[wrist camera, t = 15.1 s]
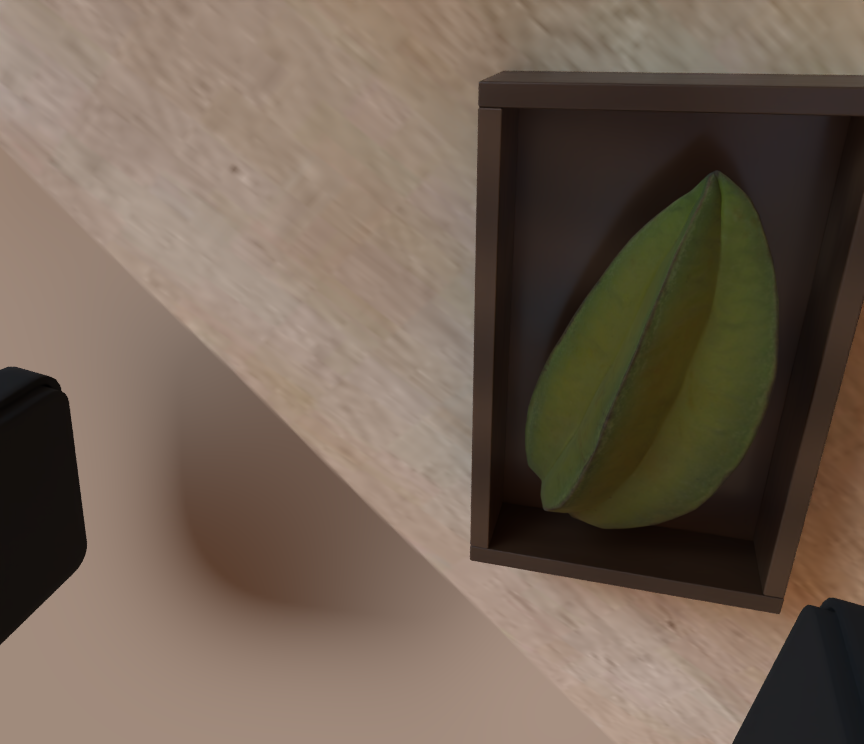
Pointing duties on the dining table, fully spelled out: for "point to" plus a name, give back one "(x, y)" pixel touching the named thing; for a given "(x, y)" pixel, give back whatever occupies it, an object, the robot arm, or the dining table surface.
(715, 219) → the fruit
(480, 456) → the holder
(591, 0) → the dining table surface
